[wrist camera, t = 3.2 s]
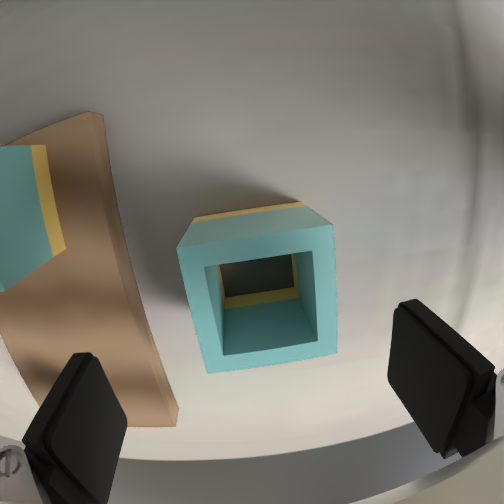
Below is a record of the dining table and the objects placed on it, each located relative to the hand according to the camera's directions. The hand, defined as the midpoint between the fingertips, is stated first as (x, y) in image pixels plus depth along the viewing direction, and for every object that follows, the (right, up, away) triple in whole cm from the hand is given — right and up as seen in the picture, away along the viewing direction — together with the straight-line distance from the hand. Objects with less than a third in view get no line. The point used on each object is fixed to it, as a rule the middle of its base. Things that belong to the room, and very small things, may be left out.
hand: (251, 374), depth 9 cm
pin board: (-13, +1, +9) cm, 16 cm away
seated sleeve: (-14, +6, +6) cm, 16 cm away
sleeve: (0, +3, +9) cm, 10 cm away
